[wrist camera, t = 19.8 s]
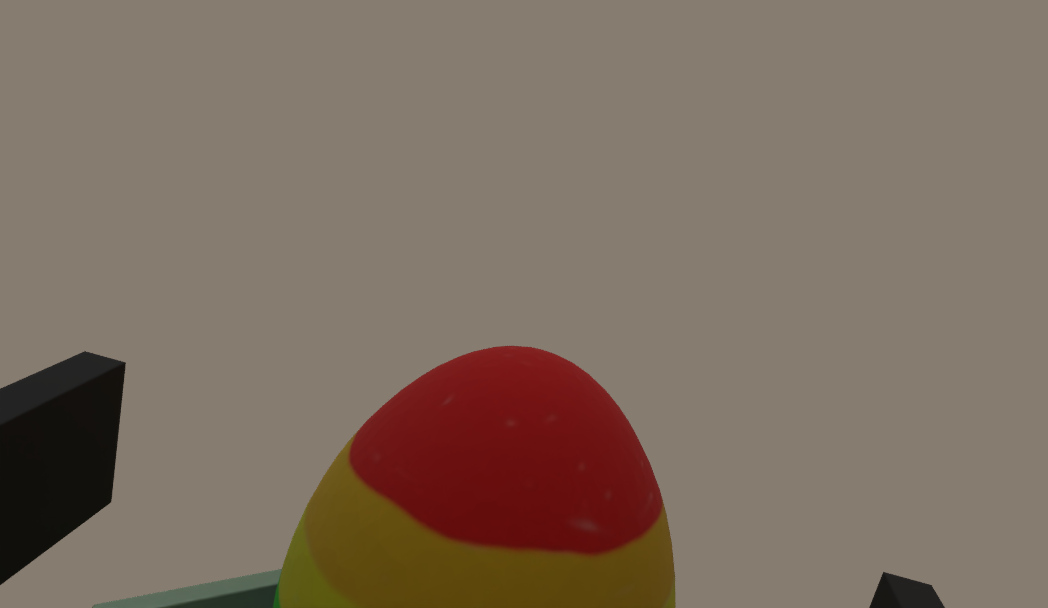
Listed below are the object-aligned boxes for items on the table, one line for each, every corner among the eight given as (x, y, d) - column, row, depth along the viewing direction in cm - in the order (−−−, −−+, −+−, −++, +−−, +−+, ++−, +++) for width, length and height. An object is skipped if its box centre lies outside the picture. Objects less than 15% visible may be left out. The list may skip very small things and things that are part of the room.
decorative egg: (521, 628, 24) (608, 300, 21) (688, 894, 17) (847, 457, 14) (223, 663, 20) (284, 269, 17) (281, 1027, 13) (397, 464, 10)
